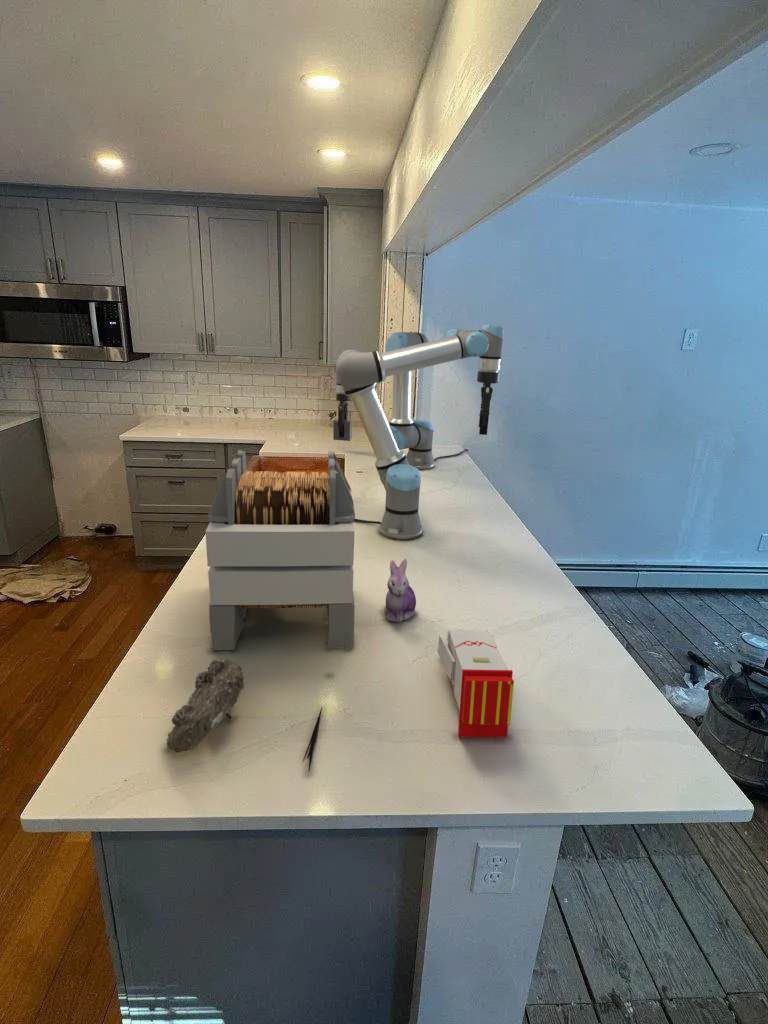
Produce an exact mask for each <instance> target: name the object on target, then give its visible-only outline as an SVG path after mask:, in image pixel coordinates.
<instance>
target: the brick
mask: <svg viewBox="0 0 768 1024" xmlns="http://www.w3.org/2000/svg"><path fill="white" fill-rule="evenodd" d="M337 424H338V418H334V419H333V426H332V427H333V429H332V430H333V432H332V433H333V436H332V439H333V441H342V442H343V441H345V442H350V441H351V440H352V439H353V438H352V437H353V419H352V418H351V419H350V418H348V419H344V438H342V437H339V425H337Z"/></svg>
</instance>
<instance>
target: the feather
mask: <svg viewBox="0 0 768 1024" xmlns="http://www.w3.org/2000/svg"><path fill="white" fill-rule="evenodd" d="M329 675H330V676H331V675H332V674H331V673H330V674H329ZM322 710H323V707H321V708H320V710H319V713H318V716H317V719H316V723H315V725H314V728H313V731H312V733H311V737H310V739H309V742H308V745H307V748H306V751H305V754H304V757H303V760H302V763H301V767H302V765H303V763H304V761H305V758H308V759H309V760H308V762H307V763H308V764H307V766H308V771H310V770H311V766H312V765H311V764H312V760H313V757H315V756H314V755H315V751H316V749H315V746H317V739H318V733H319V729H320V722H321V717H322V712H323V711H322ZM313 754H314V755H313ZM306 755H307V757H306Z"/></svg>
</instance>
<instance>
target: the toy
mask: <svg viewBox="0 0 768 1024" xmlns="http://www.w3.org/2000/svg"><path fill="white" fill-rule="evenodd" d="M446 640H447V643H446V641H445V639H444V636H443V635H442V634H439V637H438V646H437V656H438V657H439V659H440V661H441V663H442V666H443V668H444V670H445V672H446V674H447V677H448V679H449V681H450V684H451V687H452V690H453V693H454V697H455V701H456V705H457V708H458V711H459V714H458V715H459V716H458V730H457V731H458V732H457V737H458V738H508V731H509V726H510V725H511V717H512V707H513V697H514V696H513V695H514V684H515V680H514V679H513V673H514V671H513V670H512V669H508V667H507V665H506V662H505V661H504V659H503V658H502V655H501V653H500V651H499V649H498V647H497V643H496V639H495V637H494V635H493V634H491V632H490V631H489V629H467V628H466V629H465V628H463V629H461V628H460V629H459V628H448V630H447V639H446Z"/></svg>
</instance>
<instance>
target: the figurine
mask: <svg viewBox="0 0 768 1024" xmlns="http://www.w3.org/2000/svg"><path fill="white" fill-rule="evenodd" d="M407 567H408V559H406V558H404V559H403V560H402V561H401V563H400V565H399V566H398V565H397V563H396V562H395V561H394V560H393V559H391V560H390V561H389V570H390V576H389V578H388V579H387V589H388V591H387V592H386V594H385V595H386V596H385V607H384V615H385V616H386V620H387V621H391V622H395V623H400V622H402V621H406V620H409V619H410V618H411V617H413V616H414V615H415V610H416V606H417V597H416V593H415V591H414V590H413V587H411V586H410V582H409V579H408V577H407V574H406V571H407Z"/></svg>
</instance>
